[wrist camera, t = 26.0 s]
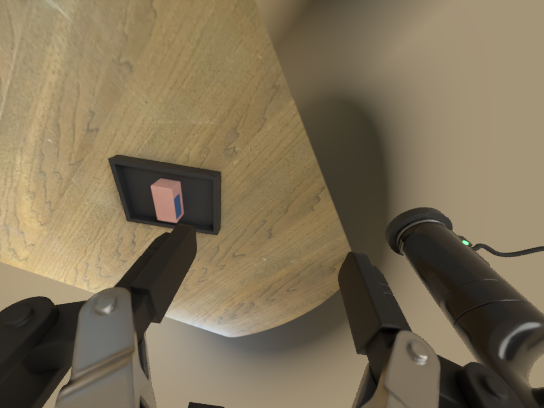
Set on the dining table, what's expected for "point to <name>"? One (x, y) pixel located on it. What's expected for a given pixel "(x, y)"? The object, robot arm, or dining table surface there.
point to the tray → (194, 186)
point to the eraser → (167, 200)
